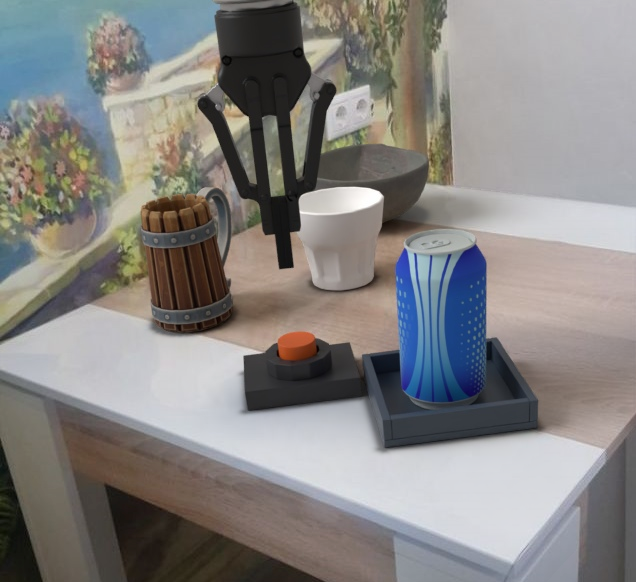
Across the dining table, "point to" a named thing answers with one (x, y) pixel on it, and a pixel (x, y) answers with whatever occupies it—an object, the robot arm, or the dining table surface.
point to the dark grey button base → (301, 377)
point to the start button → (297, 346)
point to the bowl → (376, 173)
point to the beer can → (442, 318)
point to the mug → (188, 260)
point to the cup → (341, 235)
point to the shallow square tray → (449, 423)
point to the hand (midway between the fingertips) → (285, 263)
